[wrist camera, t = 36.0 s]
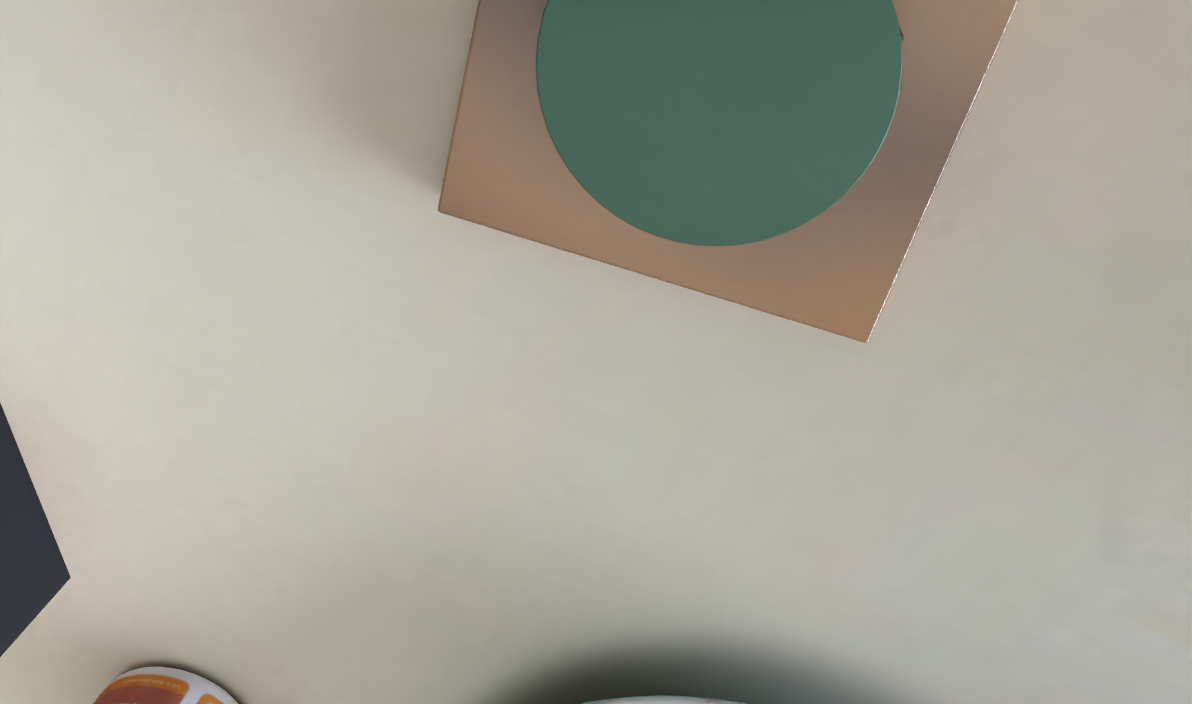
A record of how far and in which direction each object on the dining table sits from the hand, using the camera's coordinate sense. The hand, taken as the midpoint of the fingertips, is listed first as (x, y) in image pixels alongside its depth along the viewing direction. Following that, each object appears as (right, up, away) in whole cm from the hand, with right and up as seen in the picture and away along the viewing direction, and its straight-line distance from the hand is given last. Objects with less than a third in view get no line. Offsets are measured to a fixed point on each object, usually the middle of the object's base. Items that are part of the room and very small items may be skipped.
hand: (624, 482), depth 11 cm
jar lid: (+2, +8, +14) cm, 16 cm away
